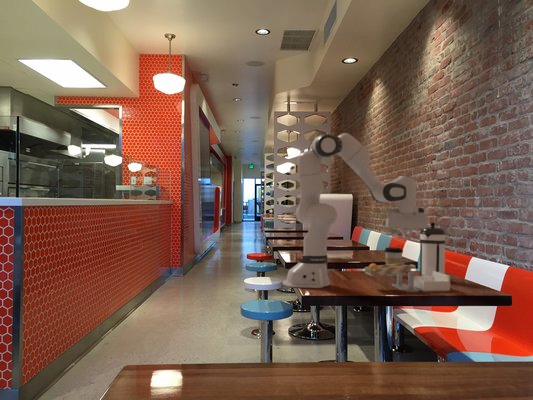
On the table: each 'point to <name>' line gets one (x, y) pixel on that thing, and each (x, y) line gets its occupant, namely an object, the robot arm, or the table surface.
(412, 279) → the lever stand
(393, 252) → the coffee cup
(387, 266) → the lever ramp
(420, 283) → the dish
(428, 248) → the coffee press
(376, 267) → the ball
